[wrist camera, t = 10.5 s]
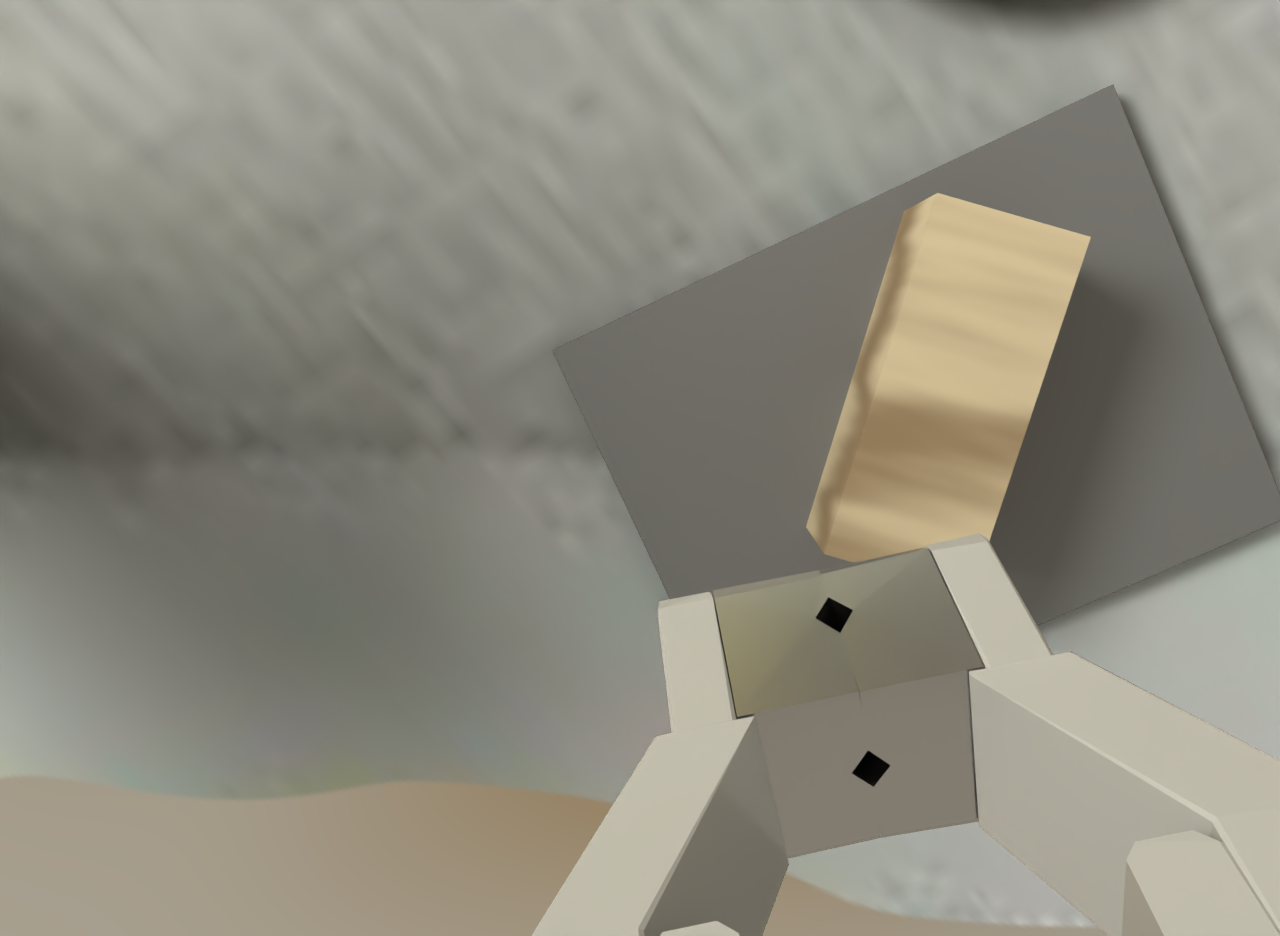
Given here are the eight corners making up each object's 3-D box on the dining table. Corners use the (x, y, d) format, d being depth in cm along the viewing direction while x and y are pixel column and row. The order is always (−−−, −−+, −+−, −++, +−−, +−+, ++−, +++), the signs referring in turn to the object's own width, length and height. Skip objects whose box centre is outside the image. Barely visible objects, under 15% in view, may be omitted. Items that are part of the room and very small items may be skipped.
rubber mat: (741, 743, 42) (743, 752, 41) (555, 349, 41) (552, 350, 40) (1273, 512, 40) (1289, 516, 39) (1101, 90, 39) (1113, 84, 38)
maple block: (971, 596, 35) (1090, 236, 34) (824, 554, 35) (937, 192, 34) (934, 563, 40) (1037, 249, 38) (805, 526, 40) (903, 211, 38)
